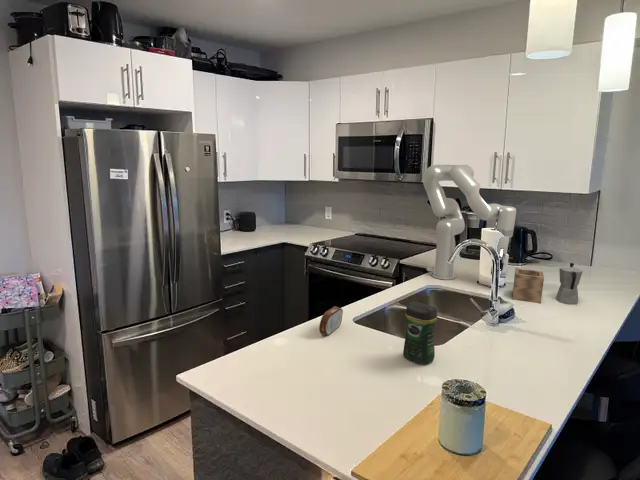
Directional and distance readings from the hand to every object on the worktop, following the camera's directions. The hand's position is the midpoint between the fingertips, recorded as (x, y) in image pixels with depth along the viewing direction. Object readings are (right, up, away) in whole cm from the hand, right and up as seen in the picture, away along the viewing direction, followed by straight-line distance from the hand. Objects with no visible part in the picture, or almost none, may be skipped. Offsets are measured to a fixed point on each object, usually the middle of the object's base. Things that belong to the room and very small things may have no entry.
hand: (499, 267), depth 213 cm
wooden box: (+9, -13, -8) cm, 18 cm away
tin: (-83, -21, -50) cm, 99 cm away
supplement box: (0, -4, +1) cm, 4 cm away
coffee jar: (-55, -25, -70) cm, 93 cm away
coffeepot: (+26, -15, -13) cm, 32 cm away
